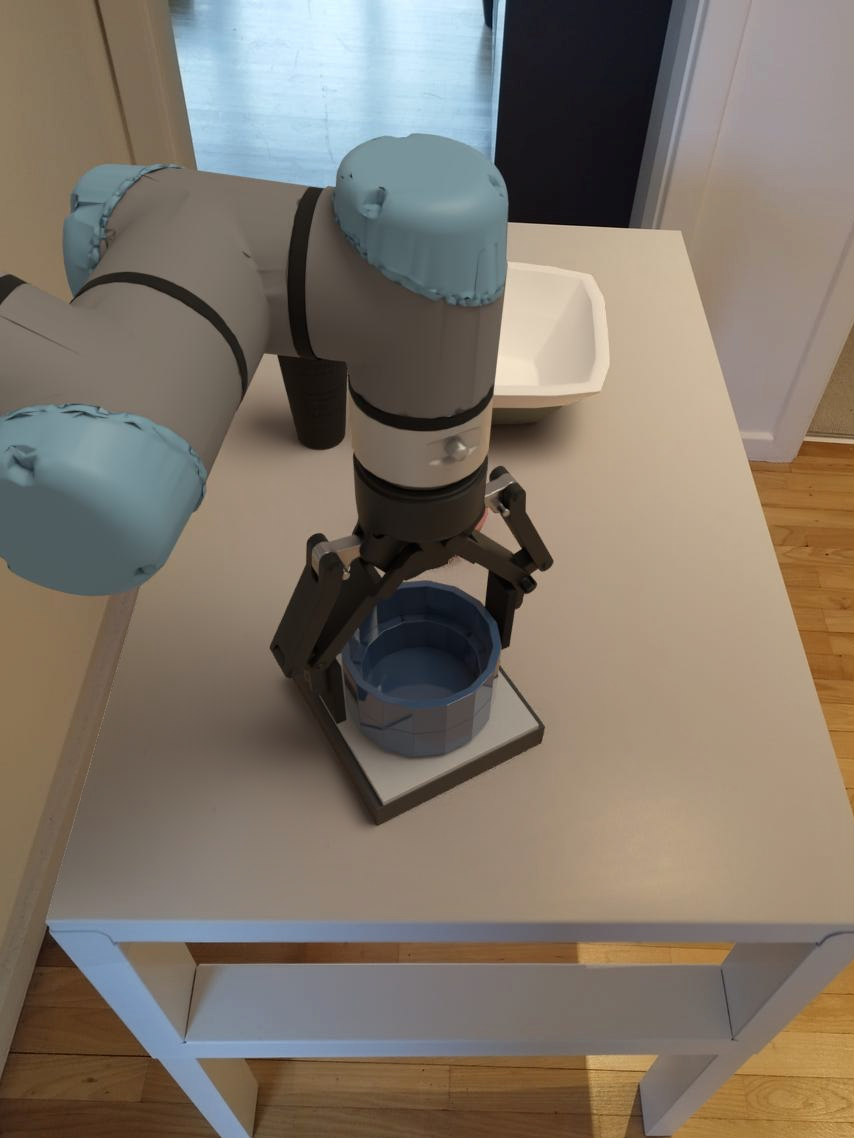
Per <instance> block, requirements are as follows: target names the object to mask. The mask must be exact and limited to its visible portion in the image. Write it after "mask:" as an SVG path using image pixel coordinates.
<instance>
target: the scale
mask: <svg viewBox="0 0 854 1138" xmlns="http://www.w3.org/2000/svg"><path fill="white" fill-rule="evenodd" d="M336 659H337V661H338V662H339V664H340V665H341V669H342V679H343V689H344V699H345V709H346V719H347V720H346V721H343V722H341V723H339V724H336V722H335V720H334V719H333V717H332V715H331V713H330V712H329V710H328V708H327V707H326V705H325V703H324V701H323V700H322V698H321V696H320V695H319V696H317V697H316V696H315V695H314V694H313V692H312V691H311V689H310V687H309V685H308V684H307V682H306V680H305V678H304V672H303V671H302V672H301V674H300V675H298V676H297V677H295V678H292V679H293V680H294V682H295V684H296V686H297V687H298V689H299V691H300V692H301V695H302V696H303V698H304V700H305V702H306V703H307V705H308V707H309V709H310V710H311V712H312V714H313V716H314V718H315V719H316V721H317V723H318V724H319V726H320V728H321V729H322V731H323V733H324V735H325V736H326V738H327V740H328V742H329V743H330V745H331V747H332V749H333V750H334V752H335V754H336V755H337V758H338V759H339V761H340V762H341V764H342V766H343V768H344V770H345V771H346V773H347V774H348V777H349V778H350V780H351V782H352V783H353V785H354V787H355V789H356V791H357V792H358V793H359V796H360V798H361V799H362V801H363V803H364V804H365V807H366V809H367V810H368V812H369V813H370V815H371V817H372V818H373V820H374V822H375V824H376V826H380V825H382V824H384V823H386V822H388V821H389V820H391V819H393V818H396V817H397V816H399V815H401V814H403V813H405V812H407V811H409V810H411V809H413V808H415V807H417V806H419V805H421V804H423V803H425V802H427V801H429V800H432V799H433V798H435V797H437V796H439V795H441V794H443V793H445V792H447V791H449V790H451V789H453V788H455V787H458V785H461V784H462V783H464V782H466V781H468V780H471V779H472V778H475V777H476V776H479V775H480V774H483V773H484V772H487V771H488V770H490V769H492V768H494V767H496V766H498V765H500V764H502V763H505V762H506V761H508V760H510V759H512V758H514V757H516V756H518V755H520V754H522V753H524V752H526V751H528V750H529V749H532V748H534V747H536V746H537V745H540V744H542V743H543V739H544V738H543V737H544V735H545V734H544V733H545V729H546V726H545V724H544V723H543V722H542V720H541V719H540V717H539V716H538V715H537V713H536V712H535V710H534V709H533V708H532V706H531V705H530V703H529V702H528V701H527V700H526V698H525V697H524V695H522V693H521V692H520V690H519V689H518V688H517V686H516V685H515V684H514V682H513V681H512V680H511V678H510V677H509V675H508V674H507V673H506V671H505V670H504V668H503V667H502V665H501V664H499V673H498V680H497V689H496V697H495V700H494V704H493V707H492V711H491V714H490V718H489V720H488V722H487V723H486V724H485V725H484V726H483V727H482V729H481V730H480V731H479V732H478V733H477V734H476V735H475V736H474V738H473V739H472V740H471V741H469V742H467V743H465V744H463V745H461V746H459V747H457V748H455V749H453V750H451V751H449V752H447V753H444V754H435V755H425V756H414V757H413V756H409V755H405V754H401V753H397V752H392V751H388V750H385V749H383V748H382V747H380V746H379V745H377V744H376V743H375V742H373V741H372V740H370V739H369V738H368V737H366V736H365V735H363V734H362V733H361V732H360V730H359V729H358V727H357V725H356V724H355V722H354V720H353V719H352V717H351V715H350V714H349V712H348V710H347V701H346V692H345V684H344V675H343V666H342V655H341V651H340V653H339V654H338V655H337V657H336Z"/></svg>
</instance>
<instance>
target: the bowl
mask: <svg viewBox="0 0 854 1138" xmlns="http://www.w3.org/2000/svg"><path fill="white" fill-rule="evenodd" d="M507 262H508V268H507V276H506V286H505V295H504V304H503V313H502V322H501V331H500V340H499V349H498V358H497V367H496V376H495V385H494V398H493V408H492V419H491V425H524V424H525V425H526V424H533V423H538V422H540V421H541V420H543V419H545V418H546V417H548V416H550V415H551V414H553V413H555V412H556V411H558V410H560V409H561V408H562V407H564V406H568V405H571V404H574V403H576V402H578V401H581V400H584V399H586V398H589V397H592V396H595V395H597V394H600V393H601V392H602V389H603V386H604V384H605V381H606V380H605V379H606V377H607V374H608V371H609V368H610V365H611V357H610V345H609V344H610V343H609V330H608V321H607V312H606V304H605V297H604V295H603V294H602V291H601V289H600V288H599V285H598V284H597V282H596V280H595V278H594V277H593V275H591V274H590V273H587V272H586V273H585V272H581V271H576V270H571V269H568V268H567V269H566V268H561V267H556V266H553V265H545V264H543V265H542V264H535V263H534V264H533V263H527V262H518V261H510V260H507Z"/></svg>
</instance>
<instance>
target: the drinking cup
mask: <svg viewBox="0 0 854 1138" xmlns="http://www.w3.org/2000/svg"><path fill="white" fill-rule="evenodd" d="M276 356H277V357H276V358H277V361H278V364H279V369H280V373H281V377H282V380H283V381H282V382H283V385H284V389H285V393H286V397H287V400H288V406H289V409H290V413H291V417H292V421H293V425H294V429H295V434H296V437H297V439H298V441H299V443H300V444H301V445H303V446H305V447H307V448H309V449H312V450H328V449H331V448H334V447H336V446H338V445H340V444H341V443H342V442H343V440H344V439H345V437H346V429H347V428H346V426H347V399H348V398H347V396H348V369H347V365H346V362H344V361H335V360H328V359H321V360H312V359H305V358H301V357H292V356H283V355H276Z"/></svg>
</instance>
